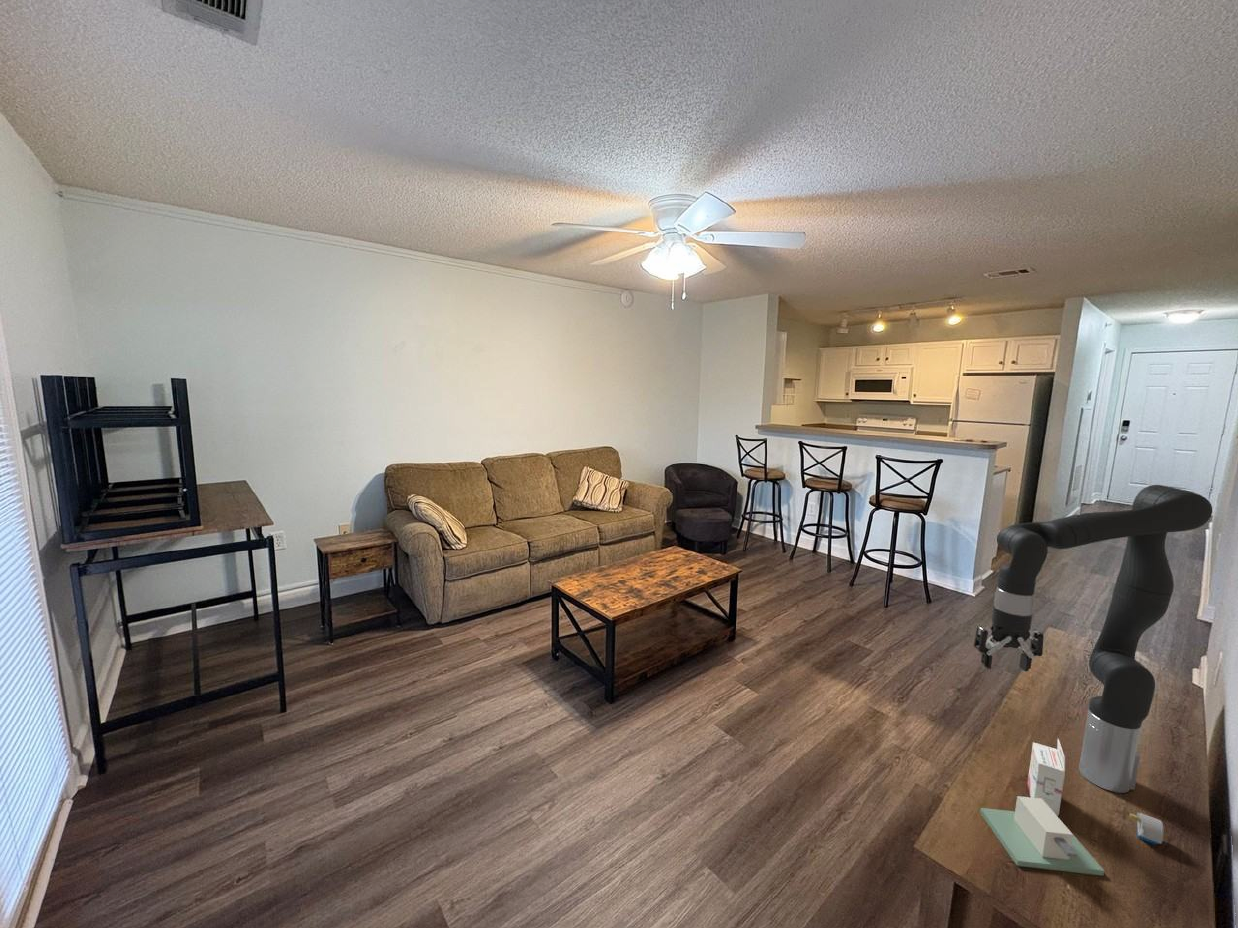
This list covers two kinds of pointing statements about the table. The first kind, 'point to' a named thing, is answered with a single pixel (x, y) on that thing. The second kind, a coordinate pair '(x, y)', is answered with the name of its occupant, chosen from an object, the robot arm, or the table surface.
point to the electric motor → (1149, 828)
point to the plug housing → (1043, 828)
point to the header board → (1027, 853)
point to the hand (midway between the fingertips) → (1004, 668)
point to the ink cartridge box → (1047, 775)
